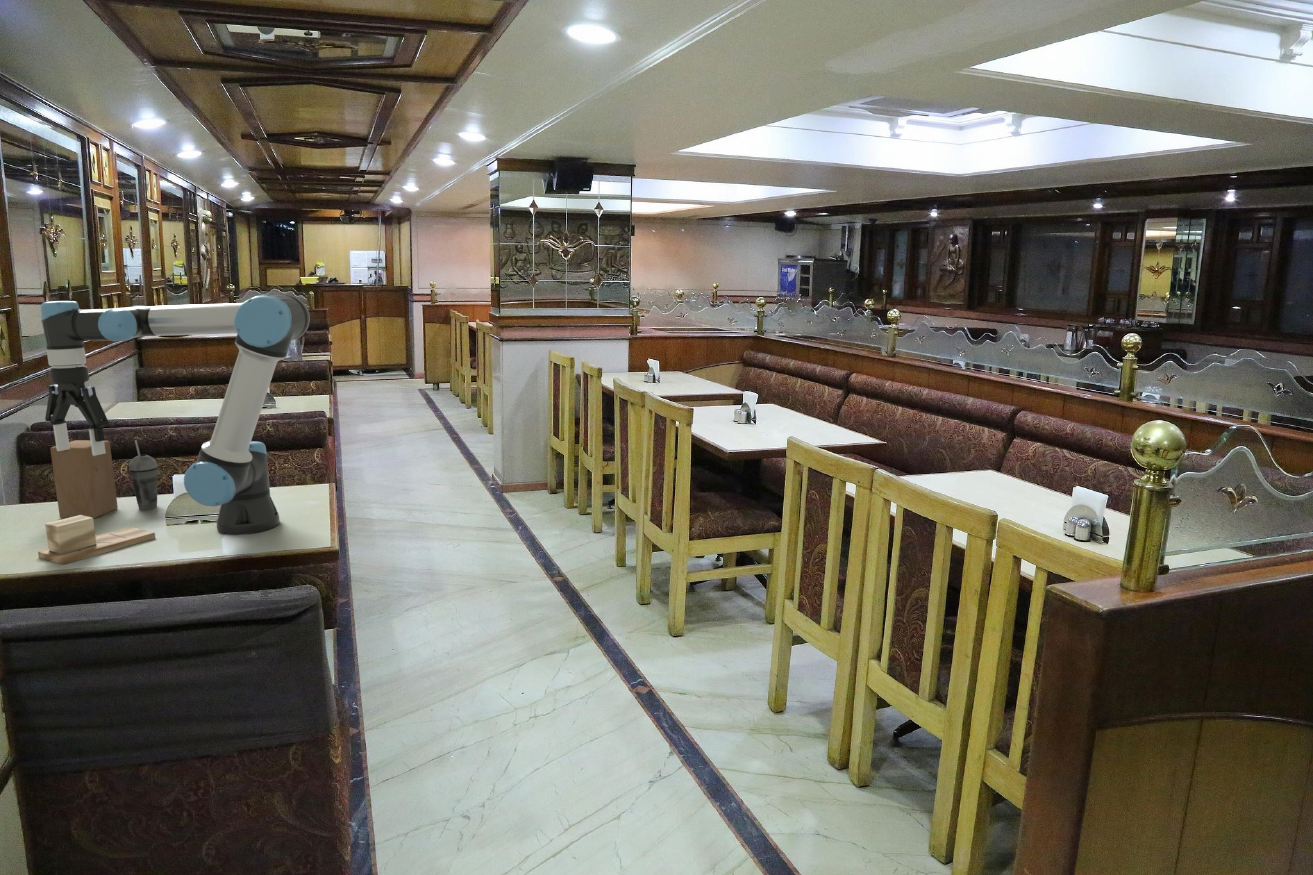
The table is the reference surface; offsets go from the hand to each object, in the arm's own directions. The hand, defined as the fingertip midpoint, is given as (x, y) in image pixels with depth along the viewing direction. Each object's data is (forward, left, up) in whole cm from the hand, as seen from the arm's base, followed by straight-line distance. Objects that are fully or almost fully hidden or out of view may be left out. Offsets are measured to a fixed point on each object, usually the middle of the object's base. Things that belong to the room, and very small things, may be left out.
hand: (81, 452), depth 206 cm
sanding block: (-5, +8, -22) cm, 24 cm away
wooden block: (+27, -14, -23) cm, 38 cm away
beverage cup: (+18, -25, -23) cm, 39 cm away
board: (-5, +2, -23) cm, 24 cm away
